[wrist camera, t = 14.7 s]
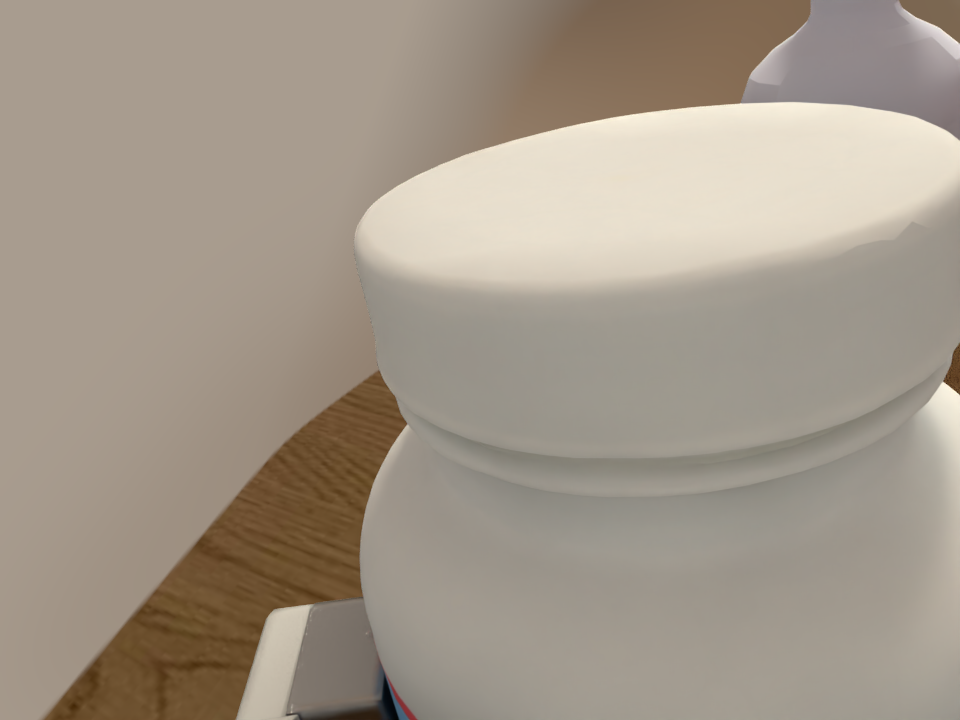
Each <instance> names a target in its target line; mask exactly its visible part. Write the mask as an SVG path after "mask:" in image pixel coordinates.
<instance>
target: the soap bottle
mask: <svg viewBox="0 0 960 720" xmlns="http://www.w3.org/2000/svg"><path fill="white" fill-rule="evenodd" d="M778 102H802V103H820V104H838V105H851V106H858V107H864V108H871V109H878V110H884V111H891V112H896V113H900V114H905V115H909V116H914V117H917V118H919V119H922V120H924V121H926V122H929V123H931V124H933V125H936V126H938V127H940V128H942V129H944V130H946V131H948V132H949V133H951V134H952V135H953V136H954V137H956V138H957V139H958V140H959V141H960V44H959V43H958V42H957V41H955V40H954V39H953V38H951V37H950V36H949V35H948V34H946V33H945V32H944V31H942V30H941V29H940V28H939V27H937V26H934V25H932V24H930V23H927V22H925V21H922V20H920V19H918V18H916V17H914V16H913V15H911V14H910V13H909V12H907V11H906V10H904V9H903V8H902V7H901V4H900V2H899V0H811V14H810V16H809V19H808V21H807V22H806V23H805V24H804V25H803V26H802V27H801V28H800V29H799V30H798V31H797V32H796V33H795V34H794V35H792V36H791V37H790V38H788V39H787V40H785V41H784V42H783V43H781V44H780V45H778V46H777V47H776V48H774V49H773V50H772V51H771V52H770V53H769V54H768V56H767V57H766V58H765V59H764V60H763V61H762V62H761V63H760V64H759V65H758V66H757V67H756V68H755V69H754V70H753V72H752V73H751V75H750V77H749V79H748V82H747V85H746V89H745V92H744V95H743V98H742V101H741V104H745V103H778Z"/></svg>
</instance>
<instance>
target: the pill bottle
mask: <svg viewBox="0 0 960 720" xmlns="http://www.w3.org/2000/svg"><path fill="white" fill-rule="evenodd" d="M354 255H355V261H356V266H357V271H358V274H359V278H360V281H361V285H362V289H363V292H364V296H365V300H366V303H367V307H368V311H369V315H370V319H371V324H372V328H373V332H374V336H375V341H376V357H377V365H378V368H379V370H380V372H381V375H382V377H383V380H384V381H385V383H386V384H387V386H388V387H389V389H390V390H391V392H392V393H393V394H394V395H395V396H396V399H397V403H398V406H399V409H400V412H401V414H402V416H403V417H404V419H405V420H406V422H407V426H406V427H405V428H404V430H403V431H402V432H401V434H400V435H399V437H398V438H397V440H396V441H395V443H394V444H393V446H392V447H391V449H390V450H389V452H388V454H387V456H386V458H385V460H384V462H383V464H382V466H381V468H380V470H379V472H378V474H377V477H376V479H375V481H374V484H373V487H372V490H371V493H370V497H369V500H368V503H367V507H366V511H365V516H364V522H363V527H362V533H361V544H360V573H361V586H362V592H363V597H364V602H365V608H366V612H367V615H368V619H369V622H370V625H371V629H372V632H373V637H374V643H375V646H376V649H377V652H378V656H379V659H380V662H381V664H382V667H383V670H384V673H385V676H386V679H387V682H388V685H389V689H390V692H391V695H392V698H393V701H394V705H395V708H396V711H397V714H398V717H399V720H960V395H959V394H958V393H956V392H955V391H954V390H953V389H952V388H950V387H949V386H948V385H947V384H945V383H944V382H943V380H944V378H945V376H946V374H947V372H948V370H949V368H950V366H951V362H952V355H953V351H954V350H955V349H956V347H957V346H958V344H959V343H960V141H959V140H958V139H957V138H956V137H954V136H953V135H952V134H951V133H949V132H948V131H946V130H944V129H942V128H940V127H938V126H936V125H933V124H931V123H929V122H926V121H924V120H922V119H919V118H917V117H914V116H909V115H905V114H900V113H896V112H891V111H884V110H878V109H871V108H864V107H858V106H851V105H838V104H820V103H802V102H778V103H745V104H731V105H718V106H705V107H693V108H683V109H674V110H666V111H657V112H649V113H641V114H634V115H627V116H621V117H614V118H608V119H603V120H598V121H594V122H589V123H584V124H579V125H574V126H569V127H565V128H561V129H557V130H553V131H549V132H545V133H541V134H537V135H533V136H529V137H525V138H521V139H517V140H514V141H510V142H507V143H503V144H500V145H496V146H493V147H490V148H487V149H483V150H479V151H476V152H473V153H470V154H467V155H464V156H462V157H459V158H457V159H454V160H452V161H449V162H446V163H444V164H442V165H439V166H437V167H435V168H432V169H430V170H428V171H426V172H424V173H422V174H419V175H417V176H415V177H413V178H411V179H409V180H408V181H406V182H404V183H402V184H400V185H398V186H397V187H395V188H394V189H392V190H391V191H390V192H388V193H386V194H385V195H384V196H382V197H381V198H379V200H377V201H376V202H375V203H374V204H373V205H372V206H370V207H369V209H368V210H367V211H366V213H365V214H364V216H363V218H362V219H361V221H360V222H359V224H358V226H357V228H356V233H355V237H354Z"/></svg>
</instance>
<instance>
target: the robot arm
mask: <svg viewBox="0 0 960 720" xmlns="http://www.w3.org/2000/svg"><path fill="white" fill-rule="evenodd" d="M236 720H399V717H398V714H397V711H396V708H395V705H394V701H393V698H392V695H391V692H390V689H389V685H388V682H387V679H386V676H385V673H384V670H383V667H382V664H381V662H380V659H379V656H378V652H377V649H376V646H375V643H374V637H373V632H372V629H371V625H370V622H369V619H368V615H367V612H366V608H365V602H364V597H357V598H349V599H342V600H335V601H327V602H320V603H315V604H314V605H303V606H296V607H289V608H281V609H274V610H273V612H272V613H271V614H270V615H269V616H268V618H267V619H266V622H265V625H264V628H263V632H262V635H261V638H260V641H259V645H258V648H257V651H256V655H255V658H254V661H253V665H252V668H251V671H250V675H249V678H248V681H247V685H246V688H245V691H244V695H243V698H242V701H241V705H240V708H239V711H238V714H237V718H236Z"/></svg>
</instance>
